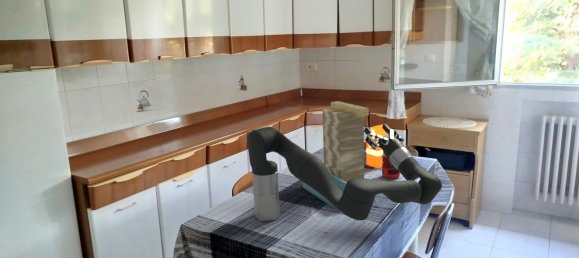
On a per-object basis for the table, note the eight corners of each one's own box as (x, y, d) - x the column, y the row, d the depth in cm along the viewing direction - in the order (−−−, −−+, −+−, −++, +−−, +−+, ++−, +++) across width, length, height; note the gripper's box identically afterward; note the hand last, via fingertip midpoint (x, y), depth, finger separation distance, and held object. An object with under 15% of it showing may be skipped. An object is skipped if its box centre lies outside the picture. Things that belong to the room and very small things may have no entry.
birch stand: (364, 182, 182) (364, 111, 175) (341, 188, 177) (340, 114, 170) (346, 173, 195) (345, 106, 187) (324, 178, 190) (322, 109, 182)
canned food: (387, 172, 194) (388, 150, 191) (403, 176, 188) (403, 153, 186) (378, 177, 189) (378, 153, 186) (394, 180, 183) (394, 157, 180)
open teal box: (360, 204, 160) (360, 189, 159) (337, 210, 155) (337, 195, 154) (323, 182, 184) (323, 170, 183) (302, 187, 180) (302, 174, 178)
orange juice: (390, 164, 205) (390, 125, 200) (377, 168, 200) (377, 128, 196) (378, 160, 211) (378, 122, 207) (366, 164, 207) (366, 125, 202)
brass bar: (368, 115, 166) (368, 108, 165) (360, 116, 164) (360, 109, 164) (338, 107, 185) (338, 101, 185) (330, 108, 184) (330, 102, 183)
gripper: (417, 144, 150) (392, 116, 161) (386, 151, 144) (362, 121, 155) (410, 159, 155) (385, 131, 166) (379, 166, 149) (356, 136, 160)
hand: (374, 126), depth 160 cm, fingers open, 8 cm apart
